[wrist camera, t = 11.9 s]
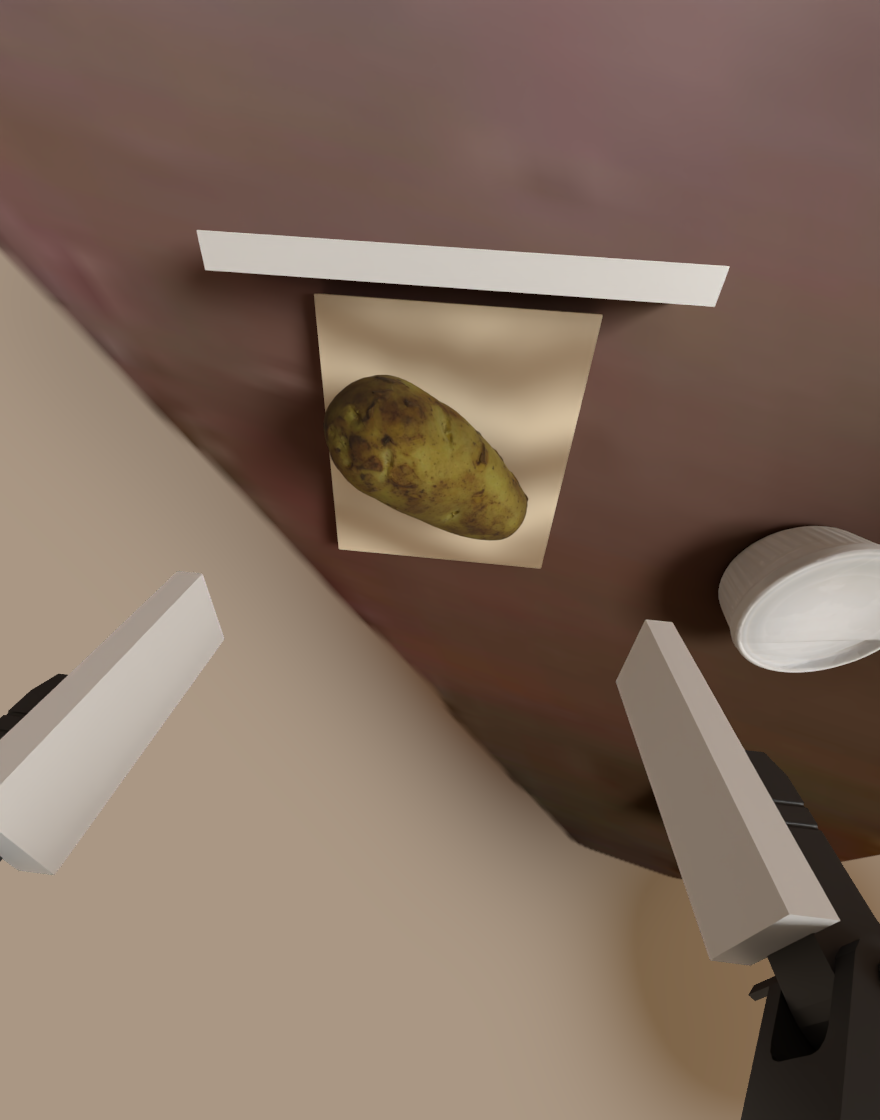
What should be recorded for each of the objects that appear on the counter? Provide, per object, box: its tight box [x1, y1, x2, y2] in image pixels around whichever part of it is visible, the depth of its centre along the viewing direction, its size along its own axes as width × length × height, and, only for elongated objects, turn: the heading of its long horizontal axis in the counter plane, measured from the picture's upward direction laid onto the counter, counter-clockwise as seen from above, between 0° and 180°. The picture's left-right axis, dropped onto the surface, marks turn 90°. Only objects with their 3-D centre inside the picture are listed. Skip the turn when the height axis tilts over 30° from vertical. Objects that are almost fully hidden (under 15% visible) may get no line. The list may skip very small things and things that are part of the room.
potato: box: [323, 375, 528, 541], centre depth 24 cm, size 8×13×8 cm, turn 31°
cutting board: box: [314, 293, 603, 568], centre depth 28 cm, size 17×16×2 cm
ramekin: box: [718, 526, 880, 672], centre depth 30 cm, size 11×11×5 cm
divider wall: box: [197, 230, 730, 307], centre depth 21 cm, size 2×24×5 cm, turn 86°
